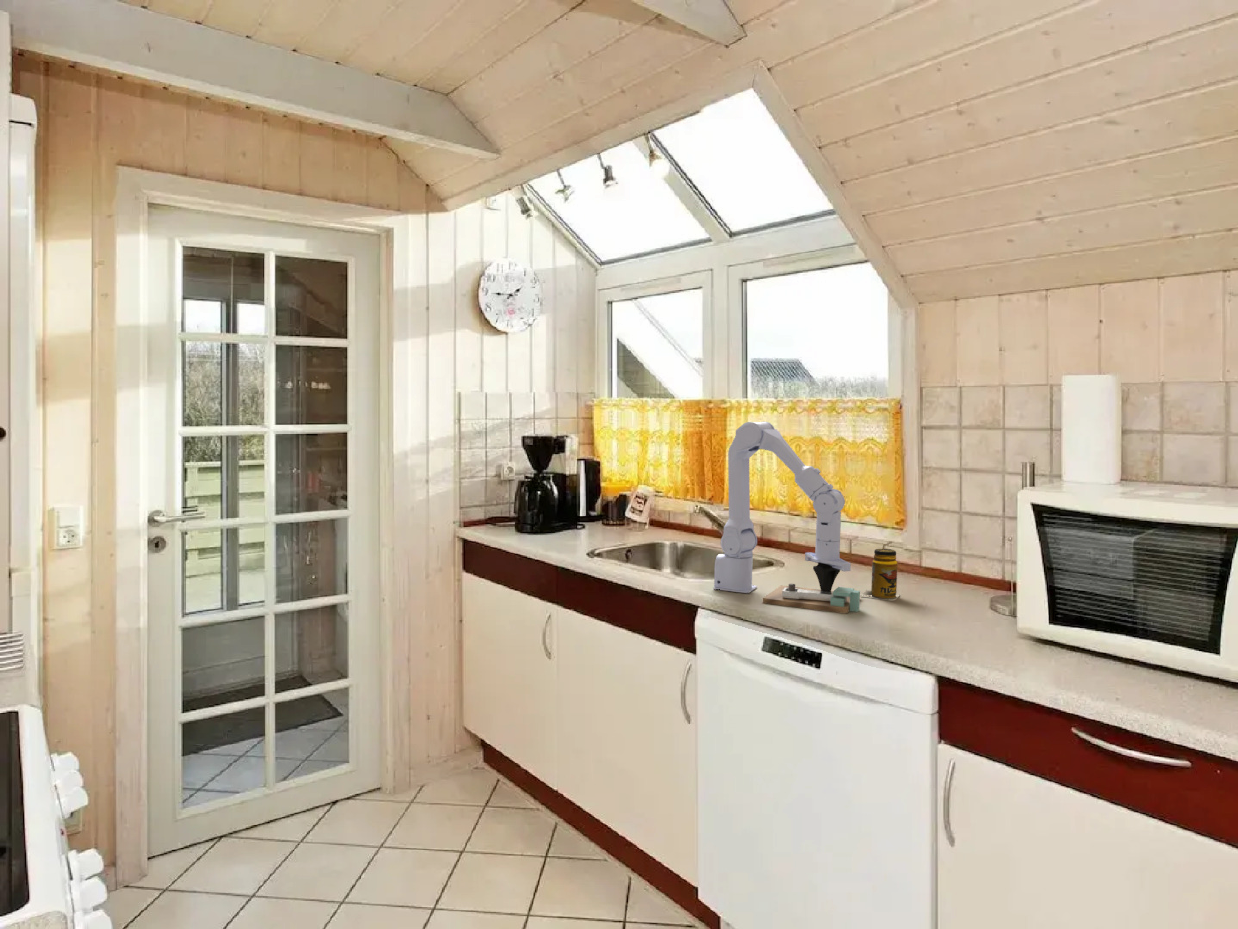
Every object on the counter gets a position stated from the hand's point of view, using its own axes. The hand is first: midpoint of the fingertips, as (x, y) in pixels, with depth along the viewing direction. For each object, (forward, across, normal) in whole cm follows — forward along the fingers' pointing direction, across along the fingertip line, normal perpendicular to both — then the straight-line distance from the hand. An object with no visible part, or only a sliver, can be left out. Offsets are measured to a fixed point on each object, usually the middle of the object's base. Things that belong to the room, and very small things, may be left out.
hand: (825, 595), depth 191 cm
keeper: (+2, +7, 0) cm, 7 cm away
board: (+2, -3, -2) cm, 4 cm away
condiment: (+2, 0, +18) cm, 18 cm away
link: (0, 0, -4) cm, 4 cm away
